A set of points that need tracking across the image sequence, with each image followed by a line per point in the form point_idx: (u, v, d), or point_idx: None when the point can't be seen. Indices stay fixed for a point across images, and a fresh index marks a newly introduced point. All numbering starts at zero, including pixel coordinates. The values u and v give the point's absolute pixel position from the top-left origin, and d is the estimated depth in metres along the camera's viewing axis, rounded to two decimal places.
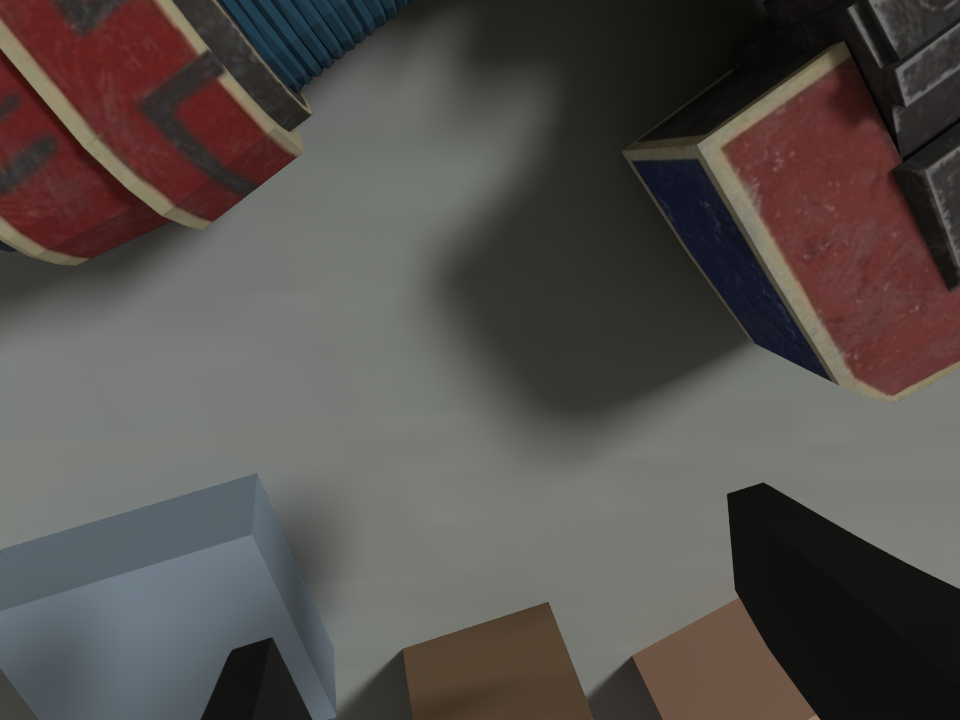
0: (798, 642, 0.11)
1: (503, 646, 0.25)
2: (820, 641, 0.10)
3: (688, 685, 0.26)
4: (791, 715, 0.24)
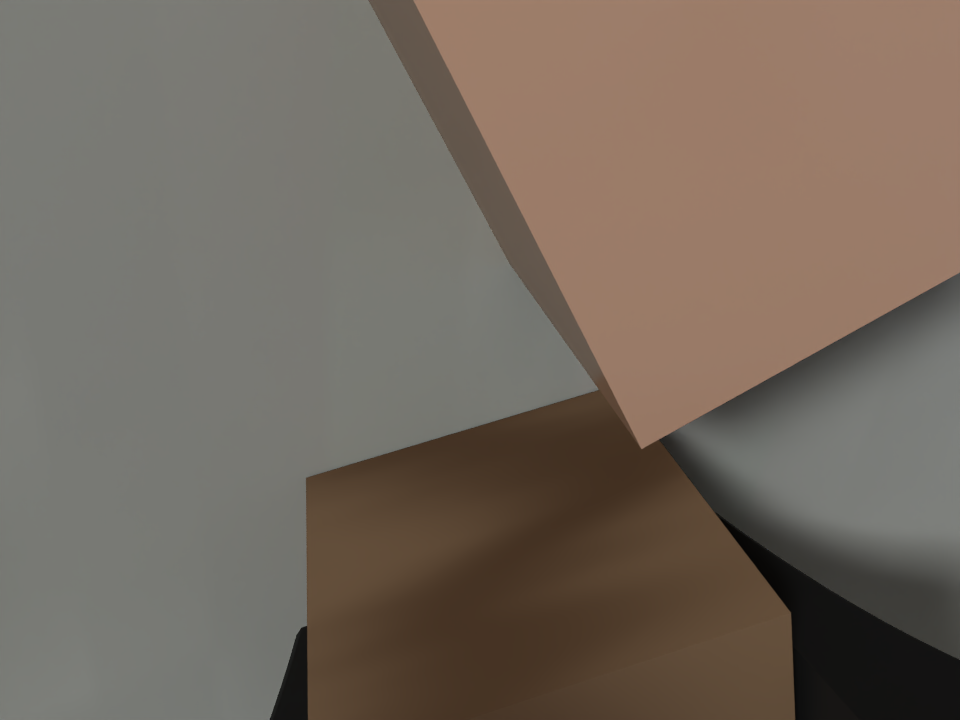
0: None
1: None
2: None
3: (502, 230, 0.09)
4: (437, 59, 0.05)
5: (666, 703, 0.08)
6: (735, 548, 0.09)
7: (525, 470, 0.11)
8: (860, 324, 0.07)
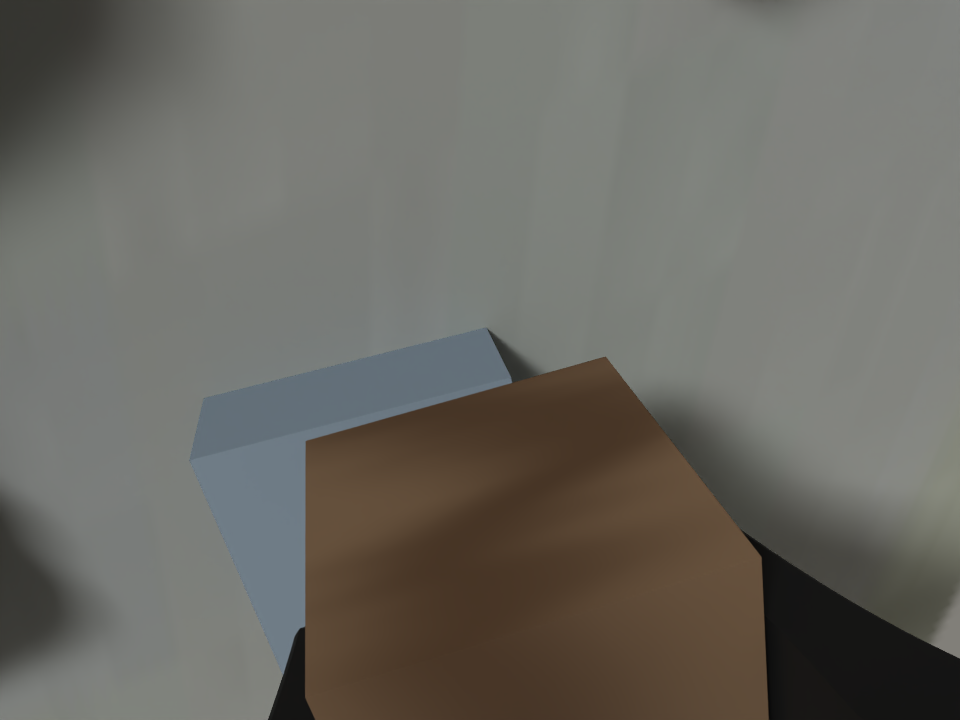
0: None
1: None
2: None
3: None
4: None
5: (643, 642, 0.09)
6: (712, 501, 0.09)
7: (515, 433, 0.11)
8: None
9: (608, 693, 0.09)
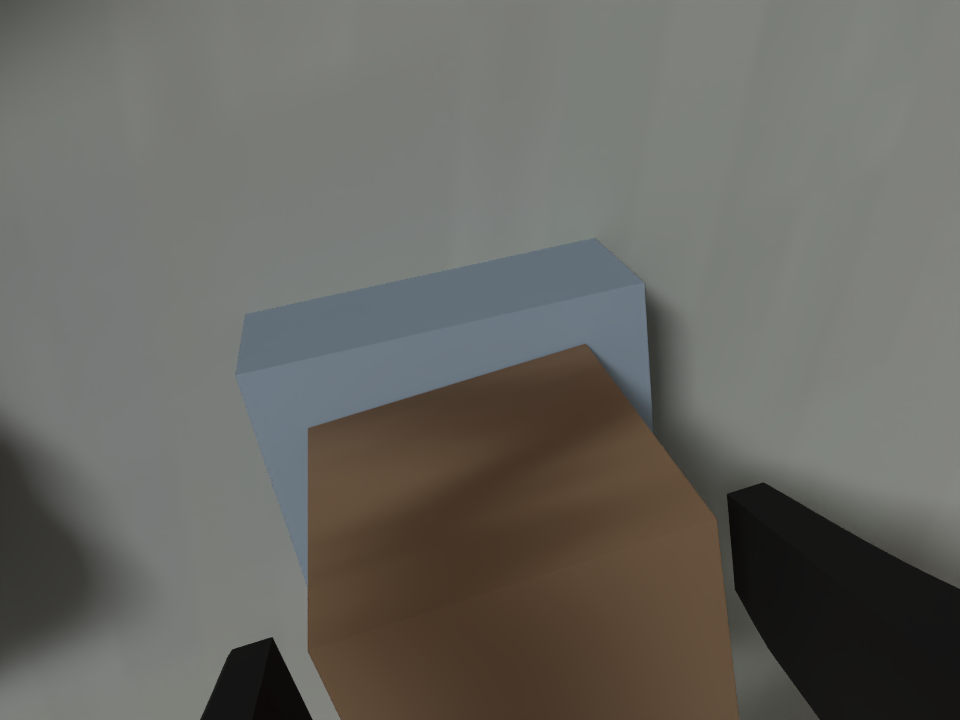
0: (798, 642, 0.11)
1: None
2: (820, 641, 0.10)
3: None
4: None
5: (612, 599, 0.10)
6: (675, 471, 0.10)
7: (500, 415, 0.12)
8: None
9: (583, 646, 0.10)
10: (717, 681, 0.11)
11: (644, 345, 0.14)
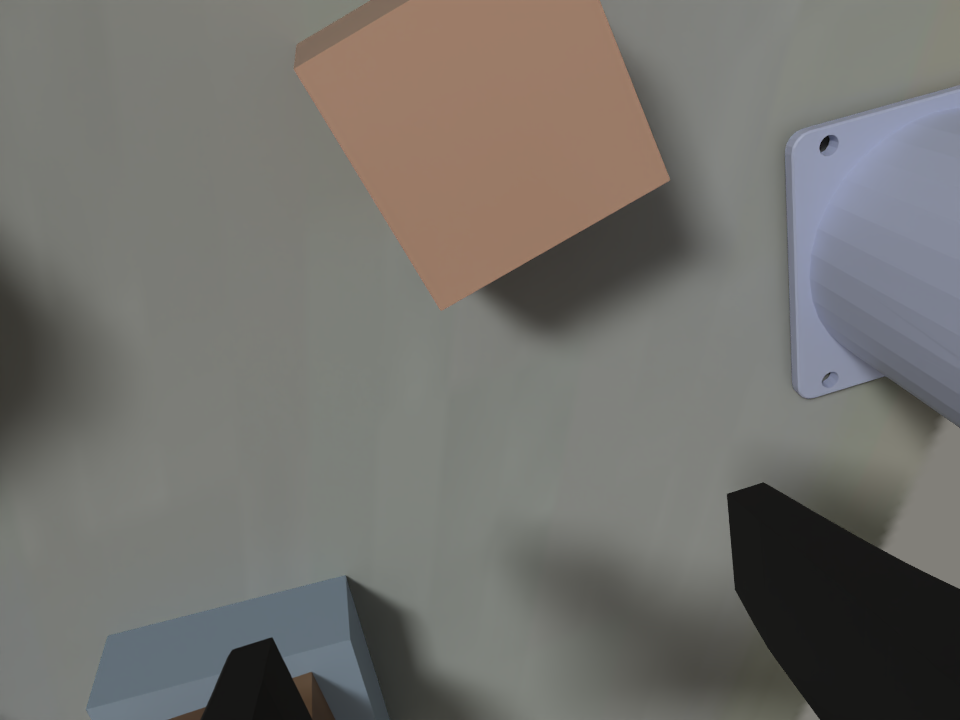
0: (798, 642, 0.11)
1: None
2: (820, 641, 0.10)
3: None
4: (340, 143, 0.14)
5: None
6: None
7: None
8: (538, 254, 0.15)
9: None
10: None
11: (357, 670, 0.22)
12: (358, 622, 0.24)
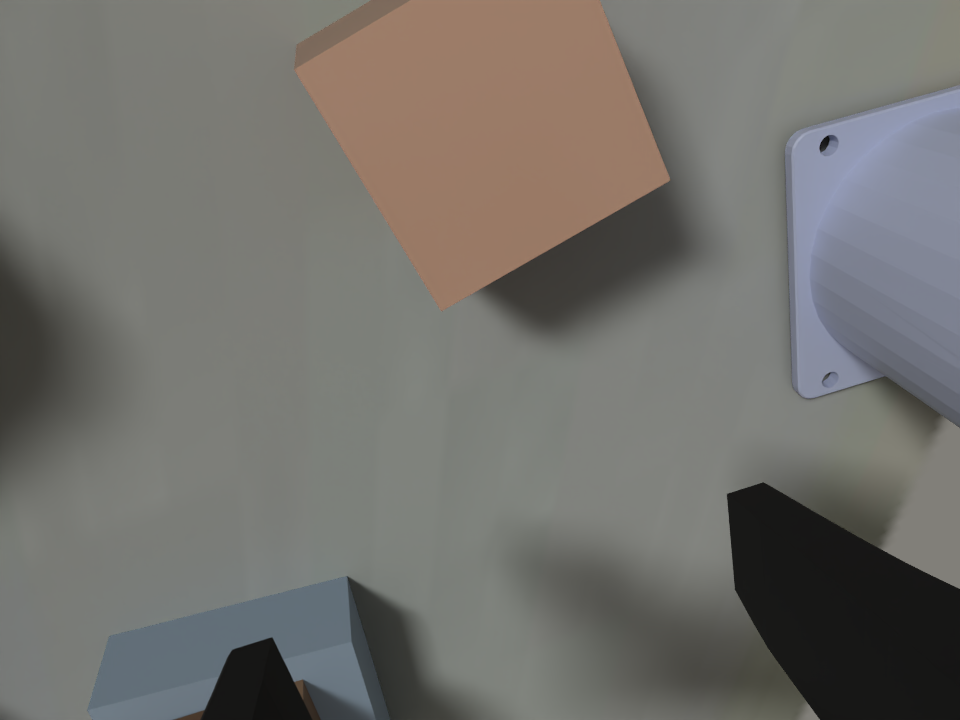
0: (798, 642, 0.11)
1: None
2: (820, 641, 0.10)
3: None
4: (340, 143, 0.14)
5: None
6: None
7: None
8: (538, 254, 0.15)
9: None
10: None
11: (359, 672, 0.22)
12: (359, 624, 0.24)
